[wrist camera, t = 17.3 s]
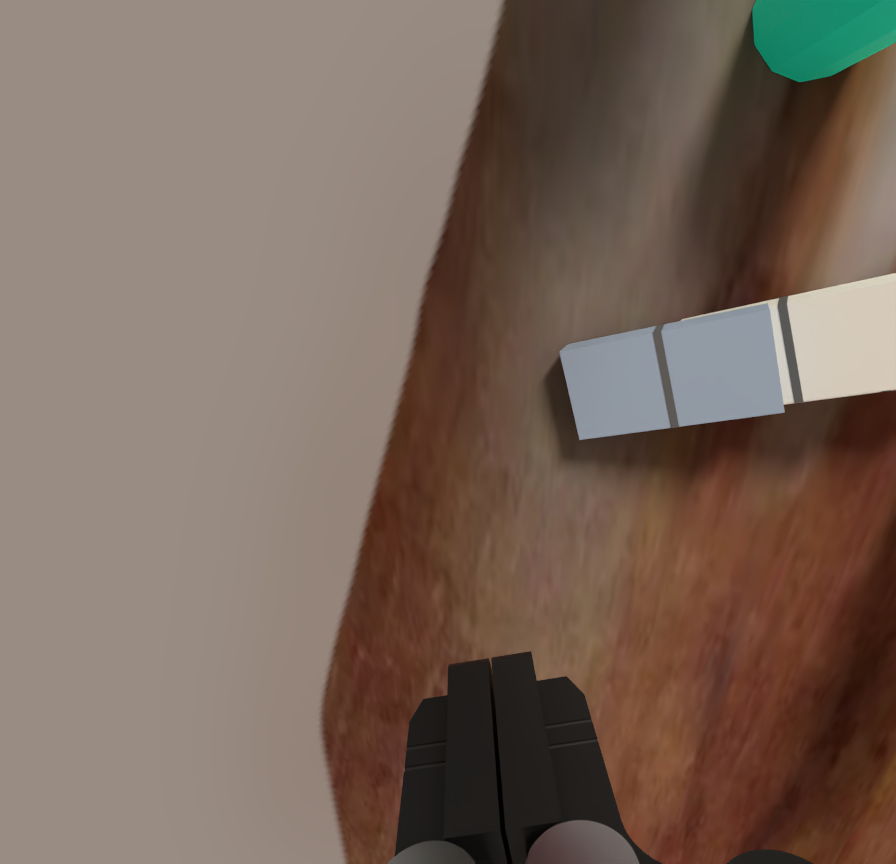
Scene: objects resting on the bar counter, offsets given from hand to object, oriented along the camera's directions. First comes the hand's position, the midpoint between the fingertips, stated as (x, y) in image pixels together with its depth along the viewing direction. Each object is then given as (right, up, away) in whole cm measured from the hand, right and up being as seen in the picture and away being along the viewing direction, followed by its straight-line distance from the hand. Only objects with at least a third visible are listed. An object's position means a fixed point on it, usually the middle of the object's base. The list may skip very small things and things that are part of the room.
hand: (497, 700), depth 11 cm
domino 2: (+12, +8, +23) cm, 27 cm away
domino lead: (+6, +7, +23) cm, 25 cm away
